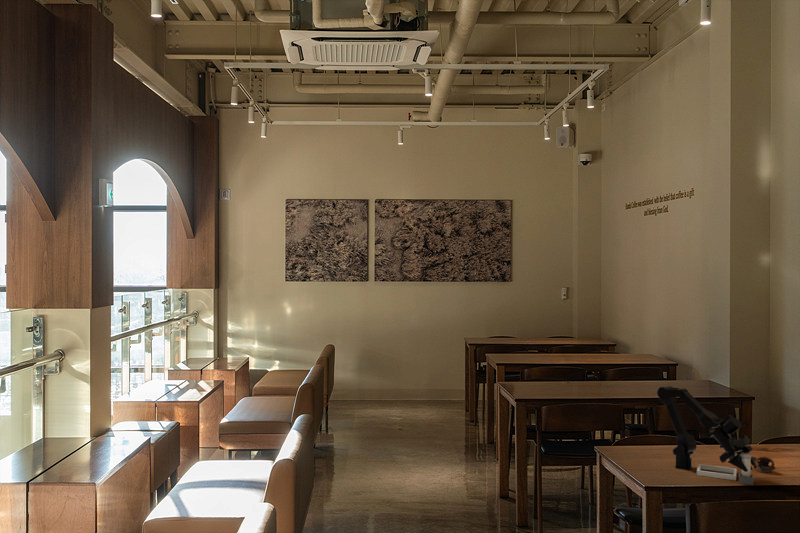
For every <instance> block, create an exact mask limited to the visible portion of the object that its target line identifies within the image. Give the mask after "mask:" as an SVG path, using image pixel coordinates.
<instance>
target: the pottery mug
mask: <svg viewBox="0 0 800 533" xmlns="http://www.w3.org/2000/svg"><path fill="white" fill-rule="evenodd" d="M770 463H771V465H770ZM751 466H753V468H754V470H755V469H756V473H757V472H758V473H761V474H763V473H771V472H773V471H774V470H776V467H775V466H776V464H775V463H774V460H773V459H771V458H770V457H767V456H759V457H754V456H751Z"/></svg>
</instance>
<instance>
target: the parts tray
mask: <svg viewBox="0 0 800 533" xmlns="http://www.w3.org/2000/svg"><path fill="white" fill-rule="evenodd" d="M707 470H708V471H707ZM737 472H738V470H737V467H736V468H735V467H728V466H718V465H711V464H703V463H698V466H697V468H696V475H697V476H701V477H707V478H708V477H709V478H715V479H723V480H730V481H737Z"/></svg>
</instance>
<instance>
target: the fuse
mask: <svg viewBox="0 0 800 533" xmlns="http://www.w3.org/2000/svg"><path fill="white" fill-rule="evenodd" d="M741 457H742V462H743V464H744V465H745V467H746V468H747V470H748V471H747V472H745V471H743V470H742V469H741V473H742V475H741V476H742V477H749V478H751V475H752V473H751V472H752V470H751V466H752V464H751V457H752V454H751V453H750V452H749V453H741Z"/></svg>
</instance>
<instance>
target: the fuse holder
mask: <svg viewBox="0 0 800 533" xmlns="http://www.w3.org/2000/svg"><path fill="white" fill-rule="evenodd" d="M741 475H742V472H739V473H738V484H742V485H749V486H754V474H751V478H749V477H742V476H741Z"/></svg>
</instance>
